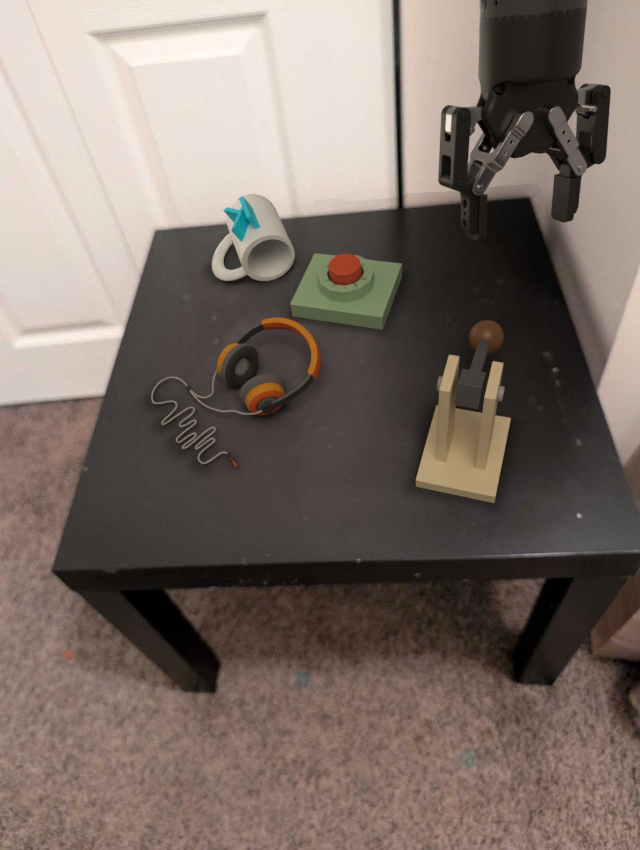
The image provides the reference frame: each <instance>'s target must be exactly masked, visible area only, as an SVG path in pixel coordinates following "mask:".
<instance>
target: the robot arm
mask: <svg viewBox="0 0 640 850" xmlns="http://www.w3.org/2000/svg"><path fill="white" fill-rule="evenodd" d="M588 1H589V0H479V2H478V3H479V5H478V6H479V26H478V27H479V29H478V32H479V34H478V70H477V71H478V73H477V77H478V82H479V85H480V87H479V88H480V94H479V98H478V101H477V103H476V105H473V106H458V105H452V104H451V105H450V104H448V105H447V104H446V105H445V106H444V107H443V108H442V110H441V113H440V130H439V131H440V132H439V133H440V134H439V152H438V153H439V154H438V174H437V180H438V184H439V185H440V186H441V187H445V188H446V189H447V188H448V189H450V190H453V191H456V192H459V194H460V222H459V223H460V229H461V231H462V232H463V233H465V235H466V238H468V239H470V240H473V241H475V242H479V241H483V240H486V238H487V227H488V226H487V224H488V222H487V221H488V194H486V191H487V189H488V188H489V186H490V184H491V183H492V181H493V179H494V178H495V176H496V174H497V173H499V172H500V171H502V170H503V169H504V168H505V166H506V164H507V163H508V162H509V159H515V160H516V159H520V158H523V157H526V156H527V155H530V154H539V155H541V154H547V156H549V158H550V159H551V161H552V163H553V164H554V166H555V168H556V169H557V171H558V172H559V173H555V174H554V175H553V184H552V185H553V186H552V195H551V196H552V197H551V198H552V199H551V211H550V215H551V218H552V219H553V220H554V221H557V222H560V223H569V222H573V220H574V217H575V214H577V211H578V209H579V205H580V196H581V185H582V178H583V176H584V174H585V173H586V172H587V170H588V169H590V168H591V167H592V166H594V165H601V164H603V163H604V162H605V160H606V158H607V149H608V138H609V137H608V135H609V122H610V111H611V110H610V109H611V108H610V107H611V95H612V94H611V93H612V90H611V86H609V85H608V84H602V83H583V84H582V85H580V87H578V88H577V87H576V76H578V74H579V73H580V72H581V70H582V65H583V56H584V55H583V54H584V44H585V34H586V23H587V22H586V21H587V14H588V13H587V11H588V3H589V2H588ZM574 112H575V114H576V126H575V127H576V128H575V129H576V130H575V134H574V132H573V130H572V129H571V127H570V125H569V124H568V122H569V120H570V119H571V117H572V116H573V114H574ZM477 125H478V127H479V129H481V131H482V133H481V134H480V137H479V138H478V140H477V142H476V143H475V145H474V147H473V148H472V150H471V152H470V154H469V151H470V139H471V136H472V135H473V134H474V133H475V132H476V128H475V127H476V126H477ZM492 149H493V151H492ZM491 151H492V152H491Z"/></svg>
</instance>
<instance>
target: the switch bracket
mask: <svg viewBox="0 0 640 850" xmlns="http://www.w3.org/2000/svg"><path fill="white" fill-rule="evenodd" d="M490 366H491V367H490V369H489V375H488V378H487V384H486V387H485V388H486V389H485V393H484V398H483V405H482V412H481V411H474V410H467V409H463V408H456V407H457V405H455V398H456V390H457V383H458V380H459V368H460V355H454V354H448V356H447V360H446V364H445V367H444V371H443V375H442V376H441V375H440V376H438V378H437V383H436V391H437V392H438V404H436V405H435V409H434V412H433V415H432V419H431V424H430V426H429V430H428V434H427V436H426V437H427V438H426V441H425V444H424V448H423V452H422V455H421V458H420V462H419V467H418V470H417V474H416V477H415V487H416V488H419V489H425V490H430V491H434V492H439V493H444V494H448V495H454V496H458V497H463V498H467V499H472V500H476V501H482V502H485V503H492V504H495V502H496V497H497V492H498V486H499V483H500V482H499V481H500V477H501V472H502V466H503V461H504V456H505V451H506V445H507V441H508V436H509V431H510V426H511V420H512V417H508V416H503V415H497V408H498V403H499V402H500V403H502V402H503V399H504V394H505V389H506V387H505V386H504V385H501V383H502V376H503V370H504V362H502V361H501V362H500V361H496V360H493V361H492V362H491V365H490Z"/></svg>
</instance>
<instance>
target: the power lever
mask: <svg viewBox="0 0 640 850" xmlns="http://www.w3.org/2000/svg"><path fill="white" fill-rule="evenodd" d="M468 333H469V334H468V343H469V345H470V347H471V349H472V350H473V351H474V355H473V358H472V361H471V364H470V367H469V369H466V368H462V369H461V372H460V374H459V376H458V383H457V390H456V398H455V405H456V407H457V406H458V407H462V408H468V409H474V410H479V409H480V406H481V402H482V398H483V395H484V389H485V383H486V376H487V372H486V371H483V370H484V368H485V363H486V360H487V358H488V357H487V356H488V355H491V354H494V353H496V352H497V351H498V350H500V348H502V346H503V344H504V341H505V333H504V330H503V328H502V327H501V325H500V324H498V323H497V322H495V321H494V320H490V319H483V320H480V321H478V322H476V323H475V324H473V326H472V327H471V329H470V330H469V332H468Z"/></svg>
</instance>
